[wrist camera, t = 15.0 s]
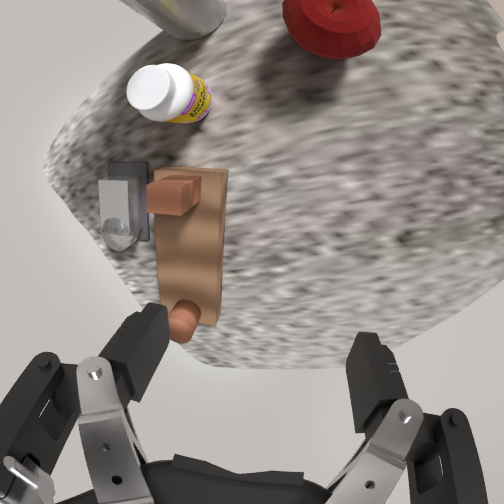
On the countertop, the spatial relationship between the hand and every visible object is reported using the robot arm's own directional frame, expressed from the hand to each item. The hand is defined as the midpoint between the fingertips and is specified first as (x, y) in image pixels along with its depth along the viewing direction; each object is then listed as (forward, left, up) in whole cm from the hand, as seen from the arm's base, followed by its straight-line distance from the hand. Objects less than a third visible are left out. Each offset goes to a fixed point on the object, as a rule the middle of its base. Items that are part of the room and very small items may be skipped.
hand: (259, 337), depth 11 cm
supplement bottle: (-12, -13, -28) cm, 33 cm away
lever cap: (+4, -22, -27) cm, 36 cm away
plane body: (+9, -12, -28) cm, 32 cm away
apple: (-23, +4, -28) cm, 37 cm away
